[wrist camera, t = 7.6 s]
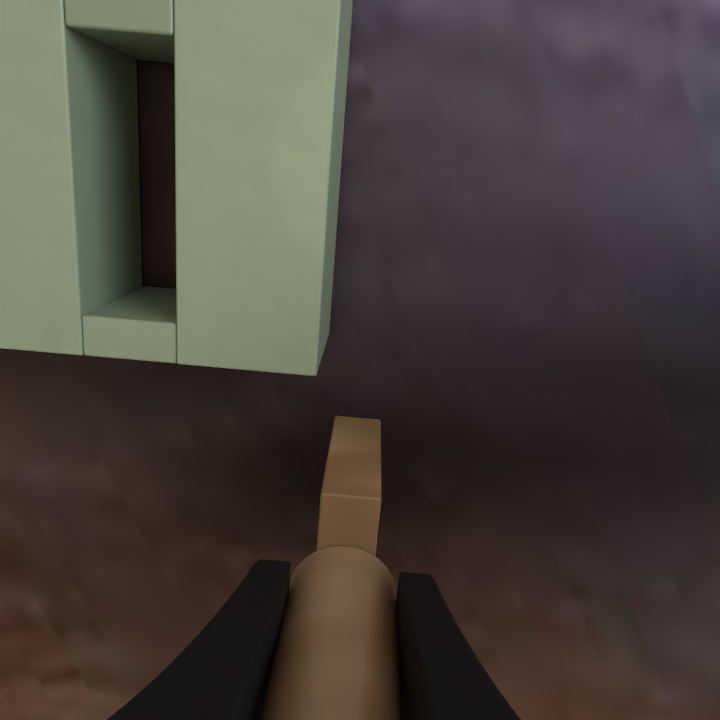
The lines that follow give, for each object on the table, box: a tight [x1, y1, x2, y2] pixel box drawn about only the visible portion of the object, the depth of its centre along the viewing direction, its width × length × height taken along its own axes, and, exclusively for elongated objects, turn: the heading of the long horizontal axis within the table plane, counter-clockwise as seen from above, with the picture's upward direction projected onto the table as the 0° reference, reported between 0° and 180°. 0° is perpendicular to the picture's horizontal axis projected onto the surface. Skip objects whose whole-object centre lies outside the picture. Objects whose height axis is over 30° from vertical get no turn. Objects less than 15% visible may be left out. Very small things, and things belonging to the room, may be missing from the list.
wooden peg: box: [260, 416, 401, 720], centre depth 12 cm, size 2×4×8 cm, turn 175°
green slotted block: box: [0, 0, 353, 376], centre depth 12 cm, size 8×14×4 cm, turn 175°
